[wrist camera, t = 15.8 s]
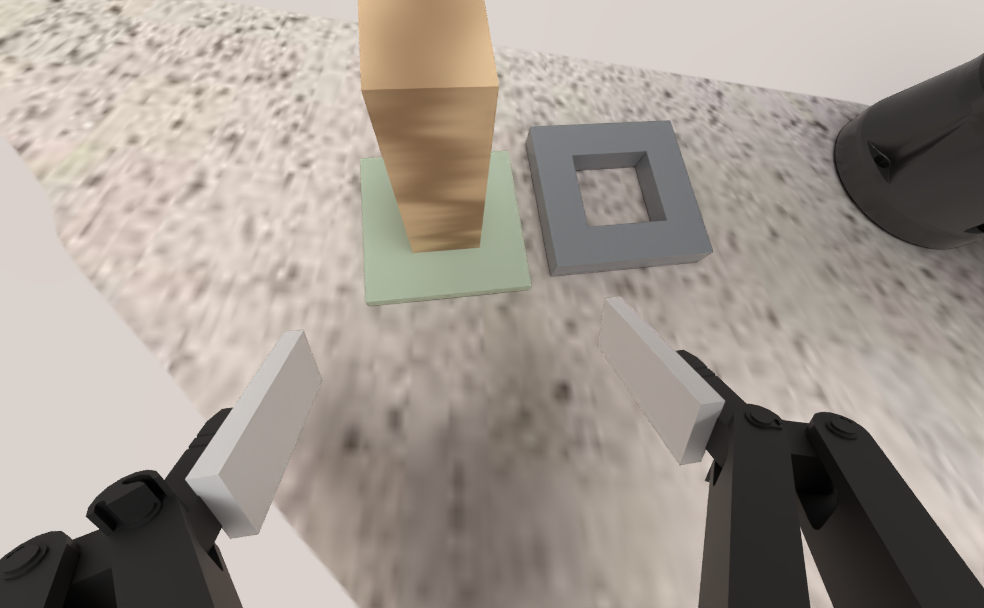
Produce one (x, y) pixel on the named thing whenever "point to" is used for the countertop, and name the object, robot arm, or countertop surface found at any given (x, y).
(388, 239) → the rubber pad
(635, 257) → the pocket frame
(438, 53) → the oak peg
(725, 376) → the countertop surface
